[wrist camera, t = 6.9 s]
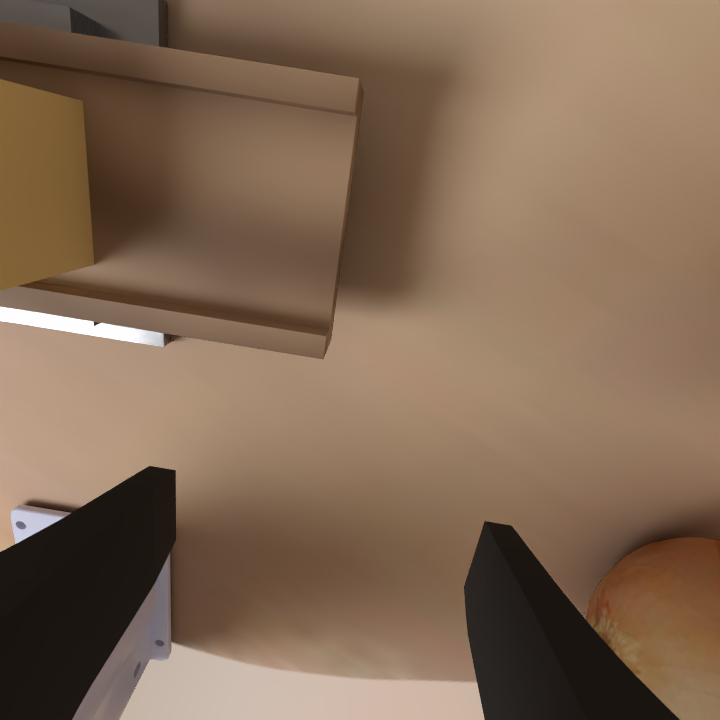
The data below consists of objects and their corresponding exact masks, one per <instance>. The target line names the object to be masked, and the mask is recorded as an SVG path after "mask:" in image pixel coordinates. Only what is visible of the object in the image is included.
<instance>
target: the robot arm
mask: <svg viewBox="0 0 720 720" xmlns="http://www.w3.org/2000/svg"><path fill="white" fill-rule="evenodd" d="M11 521H12V526H13V532H14V538H15V543H16V544H15V545H13V546H11V547H9V548H7V549H6V550H4V551H2V552H0V720H119V719H120V717H121V715H122V713H123V711H124V709H125V707H126V705H127V703H128V701H129V699H130V697H131V695H132V693H133V691H134V689H135V687H136V685H137V683H138V681H139V679H140V677H141V675H142V673H143V671H144V670H145V667H146V666H147V664H148V662H149V660H150V659H154V660H160V661H163V660H166V659H168V657H169V655H170V653H171V586H170V551H171V549H172V547H173V544H174V542H175V540H176V471H175V470H170V469H164V468H158V467H152V466H149V467H147V468H145V469H144V470H142V471H140V472H138V473H137V474H135V475H133V476H132V477H130V478H128V479H127V480H125V481H124V482H122V483H120V484H119V485H117V486H115V487H114V488H112V489H111V490H109V491H107V492H106V493H104V494H102V495H101V496H99V497H97V498H96V499H94V500H92V501H91V502H89V503H87V504H86V505H84V506H82V507H81V508H79V509H77V510H76V511H74V512H72V513H69V512H63V511H57V510H51V509H45V508H39V507H33V506H27V505H19V506H17V507H15V508H14V509H13V510H12V511H11ZM464 593H465V607H466V619H467V629H468V637H469V642H470V648H471V653H472V658H473V663H474V668H475V673H476V678H477V683H478V688H479V693H480V698H481V703H482V708H483V713H484V718H485V720H680V719H679V718H678V717H677V716H676V715H675V714H674V713H673V712H672V711H671V710H670V709H669V708H668V707H667V706H666V705H665V704H664V703H663V702H662V701H661V700H660V699H659V698H658V697H657V696H656V695H655V694H654V693H653V692H652V691H651V690H650V689H649V688H648V687H647V686H646V685H645V684H644V683H643V682H642V681H641V680H640V679H639V678H638V677H637V676H636V675H635V674H634V673H633V672H632V671H631V670H630V669H629V668H628V667H627V666H626V665H625V663H624V662H623V661H622V660H621V659H620V658H619V657H618V656H617V655H616V654H615V653H614V651H613V650H612V649H611V648H610V647H609V646H608V645H607V644H606V642H605V641H604V640H603V639H602V638H601V637H600V636H599V635H598V633H597V632H596V631H595V630H594V629H593V628H592V627H591V625H590V624H589V623H588V622H587V621H586V619H585V618H584V617H583V616H582V615H581V614H580V612H579V611H578V610H577V609H576V608H575V606H574V605H573V604H572V603H571V601H570V600H569V599H568V598H567V597H566V595H565V594H564V593H563V592H562V590H561V589H560V588H559V587H558V585H557V584H556V583H555V582H554V580H553V579H552V578H551V576H550V575H549V574H548V573H547V571H546V570H545V569H544V567H543V566H542V565H541V563H540V562H539V561H538V560H537V558H536V557H535V556H534V554H533V553H532V552H531V550H530V549H529V548H528V547H527V545H526V544H525V543H524V541H523V540H522V539H521V537H520V536H519V535H518V533H517V532H516V531H515V530H514V528H513V527H512V526H510V525H504V524H498V523H492V522H486V521H485V522H484V525H483V529H482V532H481V535H480V538H479V541H478V544H477V548H476V551H475V554H474V557H473V560H472V563H471V567H470V570H469V573H468V576H467V579H466V582H465V586H464Z"/></svg>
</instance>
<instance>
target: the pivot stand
mask: <svg viewBox="0 0 720 720" xmlns="http://www.w3.org/2000/svg"><path fill="white" fill-rule="evenodd" d="M0 21H1V22H8V23H14V24H20V25H27V26H33V27H39V28H45V29H52V30H58V31H64V32H71V33H77V34H83V35H90V36H96V37H102V38H109V39H115V40H121V41H128V42H134V43H140V44H147V45H153V46H159V47H166V48H167V1H165V0H0ZM0 321H7V322H13V323H19V324H25V325H31V326H37V327H43V328H50V329H56V330H62V331H68V332H74V333H80V334H87V335H93V336H99V337H105V338H111V339H117V340H123V341H130V342H136V343H142V344H148V345H154V346H160V347H164V346H166V345H167V344H169V343H170V334H165V333H159V332H153V331H147V330H141V329H135V328H129V327H122V326H116V325H110V324H104V323H98V322H92V321H86V320H80V319H73V318H67V317H61V316H55V315H49V314H43V313H37V312H30V311H24V310H18V309H12V308H6V307H0Z"/></svg>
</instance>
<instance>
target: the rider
mask: <svg viewBox="0 0 720 720" xmlns="http://www.w3.org/2000/svg"><path fill="white" fill-rule="evenodd" d="M92 265H94V252H93V238H92V224H91V209H90V195H89V181H88V167H87V153H86V139H85V125H84V111H83V101H81V100H77V99H74V98H70V97H66V96H62V95H59V94H55V93H51V92H47V91H43V90H40V89H36V88H32V87H28V86H25V85H21V84H17V83H13V82H10V81H6V80H2V79H0V291H1V290H5V289H8V288H12V287H16V286H19V285H23V284H27V283H30V282H34V281H38V280H41V279H45V278H48V277H52V276H56V275H59V274H63V273H67V272H70V271H74V270H78V269H81V268H85V267H89V266H92Z"/></svg>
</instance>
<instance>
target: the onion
mask: <svg viewBox="0 0 720 720" xmlns="http://www.w3.org/2000/svg"><path fill="white" fill-rule="evenodd" d="M586 621H587V622H588V623H589V624H590V625H591V627H592V628H593V629H594V630H595V631H596V632H597V633H598V635H599V636H600V637H601V638H602V639H603V640H604V641H605V642H606V644H607V645H608V646H609V647H610V648H611V649H612V650H613V651H614V653H615V654H616V655H617V656H618V657H619V658H620V659H621V660H622V661H623V662H624V663H625V665H626V666H627V667H628V668H629V669H630V670H631V671H632V672H633V673H634V674H635V675H636V676H637V677H638V678H639V679H640V680H641V681H642V682H643V683H644V684H645V685H646V686H647V687H648V688H649V689H650V690H651V691H652V692H653V693H654V694H655V695H656V696H657V697H658V698H659V699H660V700H661V701H662V702H663V703H664V704H665V705H666V706H667V707H668V708H669V709H670V710H671V711H672V712H673V713H674V714H675V715H676V716H677V717H678V718H679V719H680V720H720V540H716V539H708V538H702V537H679V538H672V539H668V540H664V541H658V542H652V543H649V544H647V545H645V546H643V547H641V548H639V549H637V550H635V551H633V552H632V553H630V554H628V555H627V556H626V557H624V558H623V559H622V560H620V561H619V562H618V563H617V564H616V565H615V566H614V567H613V568H612V569H611V570H610V571H609V572H608V573H607V574H606V575H605V576H604V577H603V578H602V579H601V581H600V582H599V584H598V586H597V588H596V589H595V591H594V593H593V595H592V597H591V599H590V602H589V606H588V611H587V617H586Z"/></svg>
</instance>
